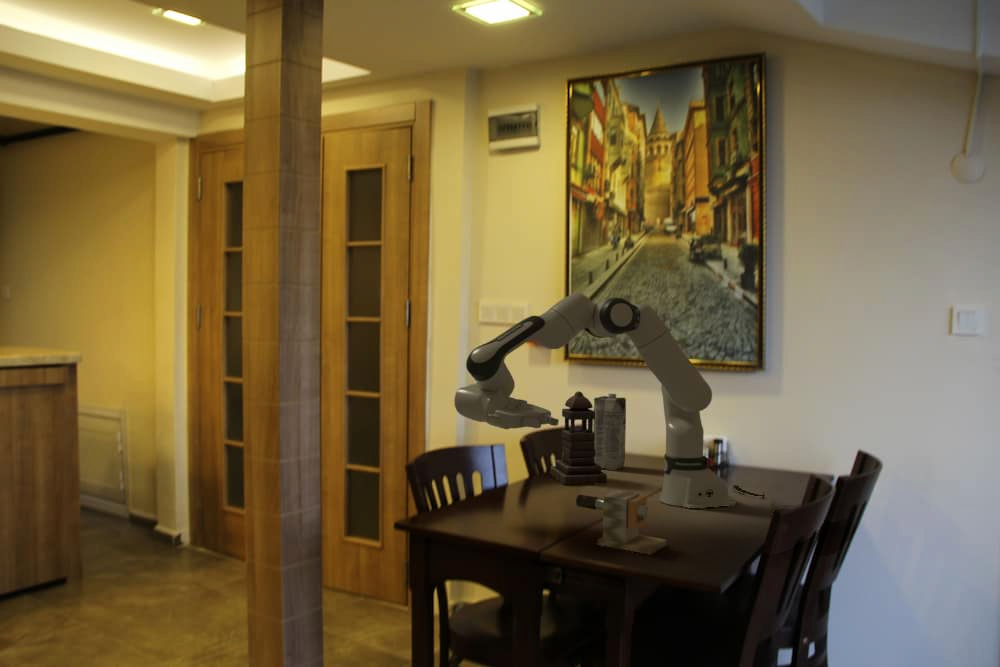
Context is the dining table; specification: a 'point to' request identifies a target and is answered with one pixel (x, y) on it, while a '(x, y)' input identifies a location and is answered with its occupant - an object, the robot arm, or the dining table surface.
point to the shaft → (598, 504)
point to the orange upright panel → (635, 513)
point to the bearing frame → (624, 526)
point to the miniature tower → (578, 446)
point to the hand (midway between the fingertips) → (548, 424)
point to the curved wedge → (745, 491)
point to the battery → (610, 431)
